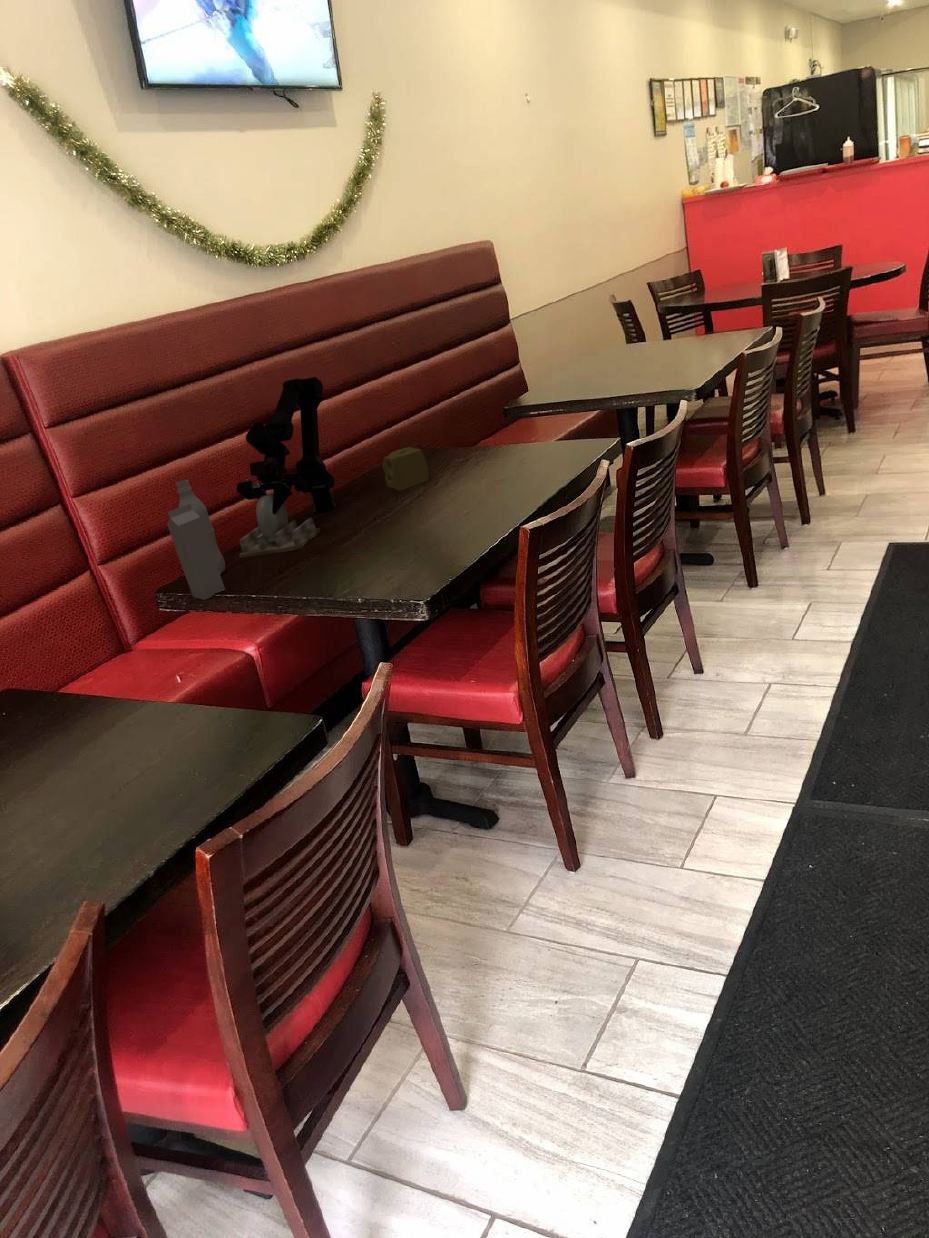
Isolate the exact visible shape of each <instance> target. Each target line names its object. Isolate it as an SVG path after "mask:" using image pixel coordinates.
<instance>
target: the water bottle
mask: <svg viewBox="0 0 929 1238" xmlns="http://www.w3.org/2000/svg"><path fill="white" fill-rule="evenodd" d="M175 484H176V487H177V489H176V490H177V493H178V495H179V503H178V508H180V507H182V506H185V505H187V504H191V507H192V510H193V511H195V512H196V513H197V514H198V515H199V516H200V518H201V520H202V523H203V526H204V529H205V532H206V535H207V538H208V541H209V544H210V547H211V550H212V552H213V555H214V558H215V561H216V564H217V567H218V570H219V573H220V576H221V575H222V574H223V573H224V572H225V570H226V563H225V558H224V556H223V555H222V553H221V551H220V549H219V546H218V544H217V543H218V542H217V540H216V534H215V530H214V527H213V525H212V524H213V523H211V520H210V516H209V513H208V509H207V506H206V505H205V504H204V503H203V502H202V501H201V500H200V499H199V497H197V496H196V495H195V494H194V492H193V490H192V489H193V487H191V485H190V483H189V480H188V479H184V480H183V479H182V480H179V481H177V482H176V483H175Z"/></svg>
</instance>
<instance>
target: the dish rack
mask: <svg viewBox="0 0 929 1238" xmlns="http://www.w3.org/2000/svg"><path fill="white" fill-rule="evenodd" d="M320 531H321V532H322V530H321V528H320V527H318V528H316V526H315V522H314V518H313V517H309V518H307V519H306V520H304V522H302V523H301V524H300V525H297V521H296V519H293V520H291V521H290V522H288V524H287V525H286V526H285V527H284V528H282V529H281V530H280V531H279V532H277V533H276V534H275V535H273V536H274V539H275V541H273V542H269V541H268V538H267V537H265V536H264V534H263V533H262V532H261V530H260V528H259V525H258V526H257V527H255V528H254V529H253V530H251V531H250V532H249V533H247V534H246V535H245V536H243V537H242V538H240V539H239V540H238V542H239V544H240V547H241V551H242V552H240V553H239V554H238V557H239V559H243V558H245V559H246V558H250V557H258V556H263V555H270V554H272V555H273V554H278V553H286V552H291V551H292V552H293V551H298V550H297V549H300V548H301V549H303V547H304V545H305V544H306V543H307V542H308V541H309V540H310V541H311V539H312V538H313V537H314V538H315V537H316V536H318V533H319V534H320V533H321V532H320ZM314 538H313V539H314ZM313 539H312V540H313ZM310 541H309V542H310ZM309 542H308V543H309ZM308 543H307V544H308ZM307 544H306V545H307ZM306 545H305V546H306ZM302 546H303V547H302ZM301 549H300V550H301Z"/></svg>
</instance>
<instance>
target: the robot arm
mask: <svg viewBox="0 0 929 1238" xmlns="http://www.w3.org/2000/svg"><path fill="white" fill-rule="evenodd" d="M323 390H324V386H323V382H322V381H321V379H318V377H316V376H313V377H308V378H298V377H297V378H293V379H288V380H285V381H284V382H282V391H281V393H280V397H279V400H278V402H277V405H276V407H275V411H274V412H273V414H272V415H271V416H269V417H268V418H267V419H266V421H265V423H264V424H263V423H262V422H261V421H258V422H254V423H253V426H252V427H250V428H249V430H248V431H247V433H246V434H245V440H246V442H247V443H248V444H249V445H250V446H251V447H252V448H253V449H254V450H255V451H257V453H259V454H261V455H263V456H264V457H263V460H260V461H255V462H254V461H253V462H250V463H249V471H250V473H249V474H250V476H252V477H253V476H255V477H256V480H257V482H254V481H252V480H244V481H239V482H237V484H236V492H237V493H238V494H239V495H240V496H242V497H243V498H244V499H246V500H248V501H251V500H256V499H257V501H258V500H259V498H260V497H261V496H264V495H268V494H267V491H271V490H272V491H273V494H274V499H273V507H272V513H273V514H274V515H275V514H276V513H277V512H278V510H279V509H280V507H281V506H282V505H283V503H284V504H285V502H286V501H287V500H288V499H289V497H291V496H293V492H292V488H293V487H294V490H295V491H297V492H302V493H303V494H306V493H310V497H311V499H312V503H313V507H314V509H313V511H312V514H318V513H323V512H327V511H332V510H335V508H336V506H337V501H335V502H334V501H333V497H332V493H331V490H330V489H332V488H334V487H335V485H336V483H335V481H336V480H335V477H334V476H333V475H332V474H331V473H330V472H329V471H327V467H326V464H325V462H324V461H323V460H322V458H321V456H320V455H321V454H320V440H319V439H320V438H319V418H318V408H319V406H320V404H321V403H322V401H323ZM297 406H298V407H299V410H300V427H301V428H300V429H301V430H300V432H301V448H302V449H301V450H302V457H301V459H300V460H297V461H296V463H295V465H296V466H295V467H296V472H290V473H288V469H287V468H286V460H287V459H286V457H287V456H289V455H291V452H290V450H289V449H288V447H287V445H285V444H284V443H283V442H287V441H290V440H292V438H293V435H294V428H295V426H294V424H293V421H292V420H293V417H294V414H295V411H296V408H297Z"/></svg>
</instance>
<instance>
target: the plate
mask: <svg viewBox="0 0 929 1238" xmlns="http://www.w3.org/2000/svg"><path fill="white" fill-rule="evenodd" d="M273 499H274V493H272V494H271V493H270V494H267V495H264V496H261V497H260V498H259V500H258V499H257V503H256V509H255V514H256V521H257V525H258V526H259V528H260V530H261V532H262V533H263V534H264V536H265V537H267V538H268V541H269V542H273V541H275V539H274V536H273V535H275V534H276V533H277V532H279V531H280V530H281V529H282V528H284V527H285V526H286V525H287V524H289V521H288V519H289V518H288V513H287V508H286V506H285V502H284V503H283V505H282V506H281V507H280V509H279V510H278V512H277V513H276V514H275V515H274V514H273V513H272V507H273Z"/></svg>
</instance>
